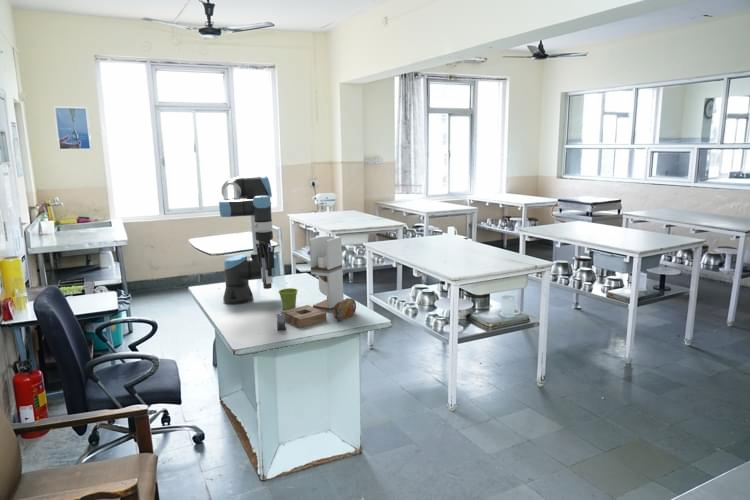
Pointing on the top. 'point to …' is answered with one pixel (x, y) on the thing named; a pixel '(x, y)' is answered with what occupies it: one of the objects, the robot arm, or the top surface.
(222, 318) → the top surface
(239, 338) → the top surface
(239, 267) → the robot arm
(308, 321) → the hole block
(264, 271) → the tall pin
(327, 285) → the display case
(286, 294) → the plant pot
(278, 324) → the short pin
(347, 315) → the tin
